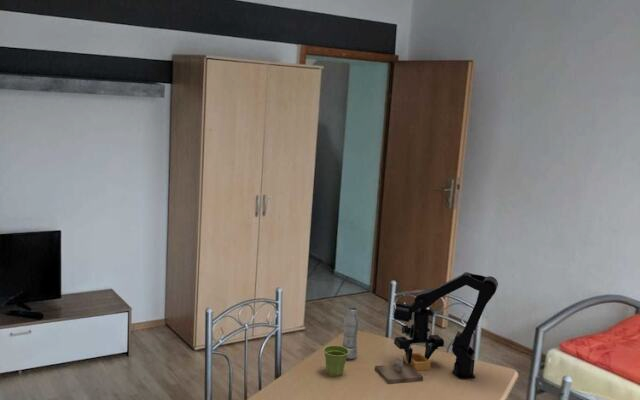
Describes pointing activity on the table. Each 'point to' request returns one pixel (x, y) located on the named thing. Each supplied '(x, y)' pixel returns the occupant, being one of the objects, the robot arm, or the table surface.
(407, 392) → the table surface
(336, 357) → the plant pot
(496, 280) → the robot arm
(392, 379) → the keeper board
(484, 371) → the table surface
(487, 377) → the table surface
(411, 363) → the tan rectangular frame
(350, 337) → the plastic bottle
